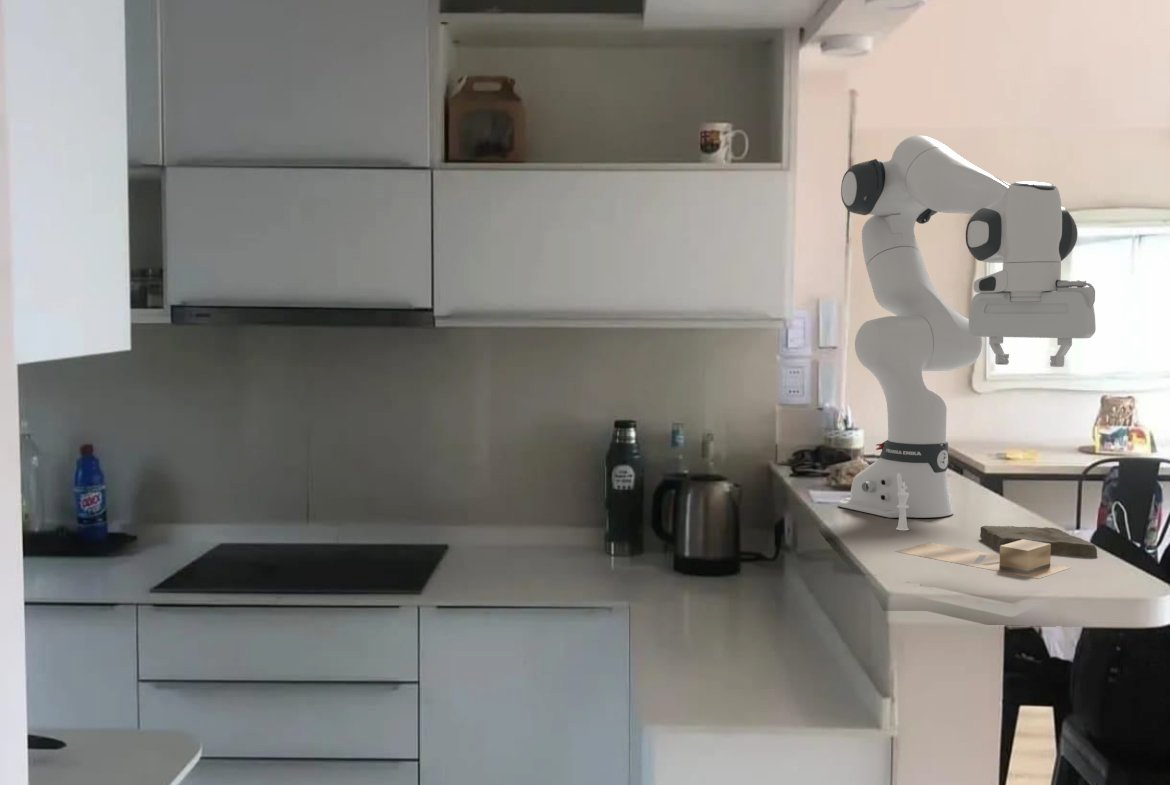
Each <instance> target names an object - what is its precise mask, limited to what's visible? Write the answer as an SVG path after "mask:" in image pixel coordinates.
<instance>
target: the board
mask: <svg viewBox="0 0 1170 785" xmlns="http://www.w3.org/2000/svg"><path fill="white" fill-rule="evenodd" d="M894 552H895V553H898V554H906V555H910V556H916V557H920V558H927V559H931V560H936V561H941V562H947V563H951V564H952V563H953V564H958V565H962V566H969V567H974V568H978V569H985V570H989V571H993V572H1000V573H1005V574H1010V575H1016V576H1020V577H1021V576H1022V577H1026V578H1031V579H1037V580H1039V579H1043V578H1045V577H1049V576H1051V575H1054V574H1058V573H1060V572H1063V571H1066V570H1070V567H1069V566H1062V565H1058V564H1051V563H1050V567H1047V568H1044V569H1041V570H1038V571H1035V572H1032V573H1029V574H1024V573H1019V572H1014V571H1008V570H1003V569H999V565H1000V554H996V553H990V552H983V551H979V550H974V549H967V548H962V547H957V546H950V545H945V544H942V543H941V544H940V543H933V542H926V543H922V544H918V545H914V546H910V547H907V548H903V549H900V550H899V549H898V550H895V551H894Z"/></svg>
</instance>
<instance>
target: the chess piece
mask: <svg viewBox="0 0 1170 785" xmlns="http://www.w3.org/2000/svg"><path fill="white" fill-rule="evenodd" d="M899 488H901V492H898V493H897V495H898V498H899V501H900V505H897V508H900V515H899V518H898V522H897V524H898V525H897V527H896V528H895V529H896V531H901V532H906V531H910V528H909V527H908V522H907V517H906V508H909V506H908V505H906V502H907V499H908V496H909V493H908V492H905V489H907V486H905V482H902V485H899Z"/></svg>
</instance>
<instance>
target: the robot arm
mask: <svg viewBox="0 0 1170 785" xmlns="http://www.w3.org/2000/svg"><path fill="white" fill-rule="evenodd" d="M1060 195H1061V194H1060V191H1059V188H1058V187H1057V186H1056V185H1054V184H1053V183H1048V182H1041V181H1039V182H1038V181H1016V182H1013V183H1008V182H1006V181H1004V180H1002V179H1001V178H999V177H997V176H995V175H992V174H991V173H989V172H988V171H985V170H984V169H982V168H979V166H976V165H975V164H973V163H971V162H970V161H968V160H967V159H965V158H963V157H962V156H960V154H958V153H956V151H954V150H953V149H952V148H950V147H948V146H947V145H946V144H943V143H942V142H940V141H938V140H937V139H934V138H932V137H929V136H926V135H920V134H919V135H918V134H917V135H913V136H909V137H907V138H904V139H903V140H902V141H901V142H899V143H898V145H897V146H896V147H895V149H894V151H893V154H892V157H891V158H890V160H878V159H877V158H874V159H871V160H867V161H863V162H858V163H856V164H853V165H852V166H850V167H849V168H848V170H846V172H844V174H843V178H842V180H841V186H840V196H841V200H842V203H843V206H844V207H845V208H846V210H847V211H848V212H850V213H852V214H856V215H860V216H868V215H872V216H870V217H869V218H868V219H867V220H866V222H865V223H864V225H863V226H862V230H861V243H862V244H861V246H862V252H863V258H864V263H865V266H866V270H867V273H868V277H869V278H868V279H869V281H870V286H871V288H872V292H873V295H874V298H875V300H876V302H877V304H878V305H880V307H882V308H883V309H884V310H886V311H888V312H889V313H892V314H893V315H889V316H883V317H877V318H874V319H870V320H866V321H865V322H863V324H862V325H861V326H860V327H859V329H858V330H857V332H856V336H855V340H854V349H855V350H854V351H855V354H856V356H857V359H858V361H859V362H860V364H862V366H863V367H864V368H866V369H867V370H868V371H869V372H870V373H872V375H873V376H874V377H875V378H876V379H877V381H878V383H879V384H880V386H881V389H882V391H883V394H884V397H885V401H886V406H887V407H886V411H887V440H885V441H883V442H882V443H877V444H875V446H877V448H875V450H876V451H879V450H881V452H880V455H879V458H877V460H876V461H873V463H871V464H870V465H868V466H867V467H865V468H864V469H863V470H861V471H860V472H858V473H857V474H856V475H855V476H854V478H853V480H852V484H851V488H850V494H849V495H850V496H849V497H846V498H842V499H840V500H839V501H838V502H839V503H838V507H841V508H844V509H849V510H855V511H858V512H864V513H867V514H871V515H877V516H881V517H886V518H894V519H895V518H898V519H899V515H900V508H897V505H900V501H899V498H898V495H897V493H898V492H901V488H899V485H902V482H905V486H907V489H905V492H908V493H909V496H908V499H907V502H906V505H908V506H909V508H906V518H924V519H925V518H926V519H927V518H928V519H929V518H942V517H948V516H951V515H953V514H954V511H953V510H954V509H953V507H952V502H951V499H950V493H949V492H950V491H949V484H948V476H947V474H948V473H947V471H948V466H949V464H948V463H949V443H948V441H947V405H946V402H945V401H944V399H943V398H942V397H941V396H940V395H938V394H937V393H935V392H933V391H932V390H930V389H928V388H927V386H926V384H925V382H924V378H923V372H949V371H954V370H959V369H962V368H966V367H969V366H972V365H973V364H974V363H976V361H977V359H978V358H979V356H980V355H981V352H982V347H983V339H982V338H983V337H984V338H988V339H989V340H988V344H989V346H990V348H991V349H992V351H993V353H994V355H995V356H994V360H995V361H994V363H995V365H997V366H1001V365H1002V366H1007V365H1009V361H1010V360H1009V359H1010V354H1009V353H1005V352H1004V350H1003V347H1002V344H1003V343H1004V338H1037V339H1038V338H1039V339H1041V338H1042V339H1045V338H1046V339H1057V340H1056V341H1057V342H1056V343H1057V346H1060V347H1059V348H1058V350H1057V352H1056V353H1055V355H1050V359H1049V360H1050V364H1049V366H1050V367H1053V368H1054V367H1055V368H1062V367H1063V368H1064V366H1065V356H1066V355H1067V353H1068V352H1069V351H1070V349H1071V347H1072V345H1073V339H1091V338H1092V337H1093V336H1094V334H1095V332H1096V328H1097V327H1096V315H1095V314H1096V313H1095V306H1094V304H1095V302H1096V289H1095V287H1094V286H1093V284H1091V283H1090V282H1087V281H1086V280H1084V279H1078V280H1070V279H1069V280H1068V279H1066V280H1061V279H1062V278H1061V277H1062V261H1064V259H1066V258H1067V257H1068V256H1069V255H1070V254H1071V252H1072V251H1073V250H1074V248H1075V246H1076V244H1077V241H1078V226H1077V224H1076V222H1075V220H1074V218H1073V216H1072V214H1070V212H1069V211H1068V210H1067V208H1065V207H1063V206H1062V199H1061V196H1060ZM937 213H945V214H960V215H961V214H963V215H972V216H971V217H970V219H969V221H968V222H967V224H966V229H965V243H966V247H967V250H968V251H969V253H970V254H971V255H972V257H973V258H974V259H976V260H977V261H979V262H983V263H984V262H985V263H988V264H989V263H990V264H993V263H995V264H1002V270H999V271H996V272H994V273H991V274H989V275H987V276H983V277H980V278H978V279H976V280H974V282H973V291H974V292H975V293H977V294H975V295H974V296H973V297H972V299H971V301H970V306H969V312H968V318H967V317H966V316H963V315H962V314H961V313H959V312H958V311H956V310H955V309H954V308H952V307H951V306H950V304H948V303H947V302H946V300H944V299H943V297H942V296H941V295H940V294H939V292H938V291H937V289H936V288H935V286H934V285H933V283H932V280H931V278H930V276H929V274H928V270H927V268H926V265H925V262H924V260H923V256H922V253H921V250H920V246H919V244H918V241H917V239H916V236H915V225H916V222H917V224H921V225H923V224H926V223H928V222H930V219H931V217H932V216H934V215H936V214H937Z"/></svg>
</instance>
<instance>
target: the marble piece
mask: <svg viewBox="0 0 1170 785" xmlns="http://www.w3.org/2000/svg"><path fill="white" fill-rule="evenodd" d="M979 537H980V539H981V541H982V542H984V543H985V544H986V545H988V546H990V547H991V548H993V549H994V550H996V551H998V552H999V553H1000V546H1001V545H1005V544H1008V543H1012V542H1015V541H1019V540H1022V539H1025V540H1031V541H1037V542H1043V543H1049V544H1051V555H1058V556H1069V557H1070V556H1071V557H1081V558H1093V559H1094V558H1098V549H1097V547H1096V546H1095V544H1094V543H1092V542H1090V541H1088V540H1085V539H1083V538H1081V537H1078V536H1075V535H1070V534H1069V533H1067V532H1066V531H1063V530H1061V529H1059V528H1055V527H1037V526H1015V525H1014V526H1013V525H1006V526H1003V525H1001V526H1000V525H998V526H997V525H982V526H981V527H980V535H979Z"/></svg>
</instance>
